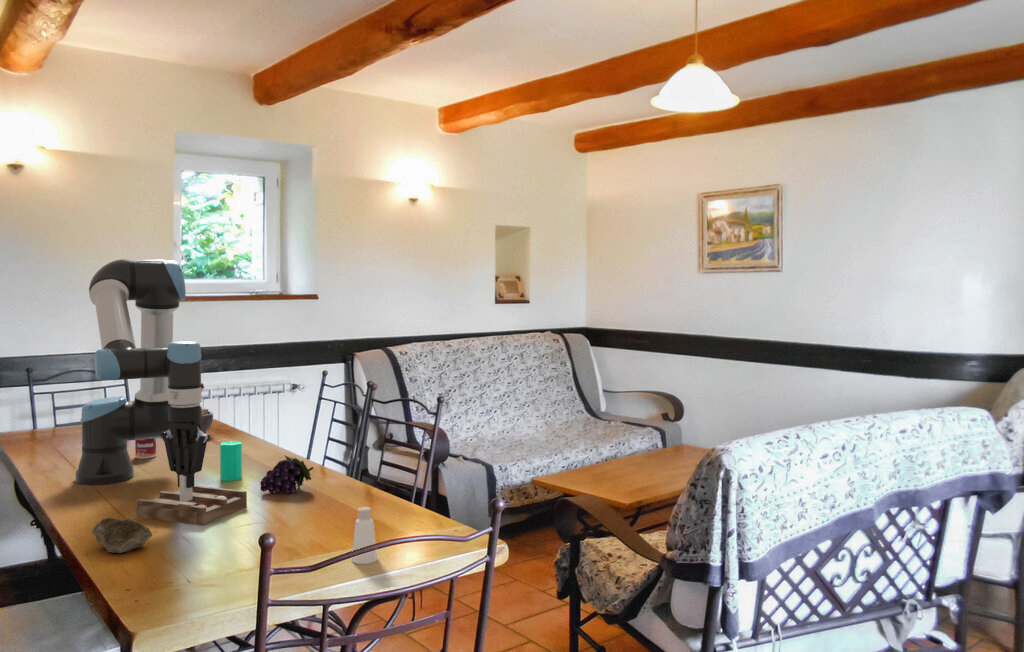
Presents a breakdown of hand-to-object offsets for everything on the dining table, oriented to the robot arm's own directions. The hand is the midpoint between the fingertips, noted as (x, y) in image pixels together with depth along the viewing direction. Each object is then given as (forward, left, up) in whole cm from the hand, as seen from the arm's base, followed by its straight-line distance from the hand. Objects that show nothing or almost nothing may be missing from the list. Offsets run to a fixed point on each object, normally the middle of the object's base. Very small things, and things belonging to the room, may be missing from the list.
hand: (186, 500), depth 190 cm
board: (-2, +4, -4) cm, 6 cm away
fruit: (+9, +29, -5) cm, 30 cm away
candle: (-15, +35, -4) cm, 38 cm away
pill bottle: (-59, +48, -4) cm, 76 cm away
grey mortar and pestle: (-70, +84, -4) cm, 109 cm away
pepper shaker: (+55, -11, -4) cm, 57 cm away
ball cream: (+4, +8, -2) cm, 9 cm away
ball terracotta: (+5, 0, -2) cm, 5 cm away
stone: (+2, -22, -5) cm, 23 cm away
